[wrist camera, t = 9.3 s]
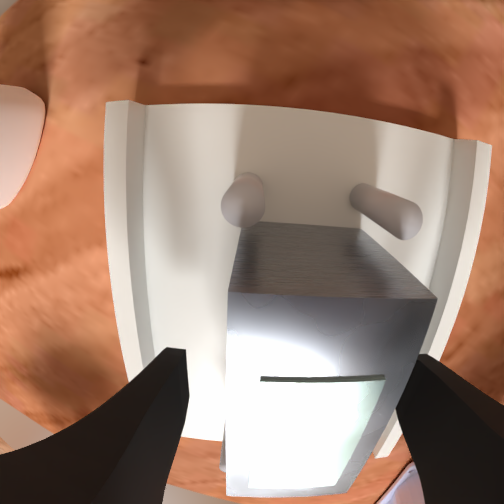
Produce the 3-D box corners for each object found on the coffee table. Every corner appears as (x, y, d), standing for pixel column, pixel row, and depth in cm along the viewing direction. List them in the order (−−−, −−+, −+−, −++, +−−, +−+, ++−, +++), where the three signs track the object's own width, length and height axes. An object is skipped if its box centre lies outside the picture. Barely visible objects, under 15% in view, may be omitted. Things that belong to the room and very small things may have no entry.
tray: (378, 428, 15) (396, 483, 11) (158, 422, 15) (139, 480, 11) (458, 142, 10) (528, 149, 6) (133, 109, 10) (71, 94, 6)
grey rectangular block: (325, 395, 13) (346, 494, 8) (235, 393, 13) (226, 497, 8) (361, 228, 11) (440, 300, 5) (242, 220, 11) (227, 294, 5)
